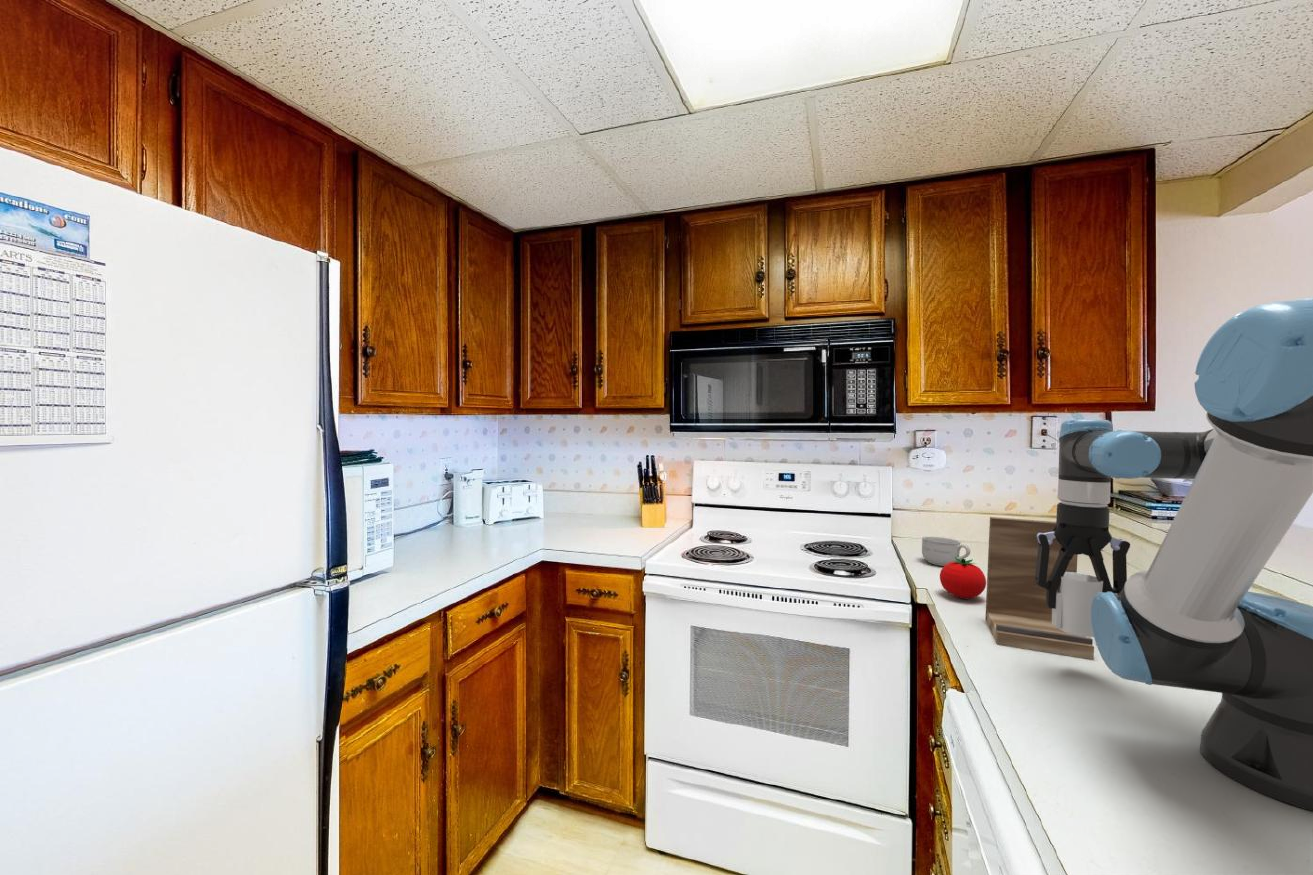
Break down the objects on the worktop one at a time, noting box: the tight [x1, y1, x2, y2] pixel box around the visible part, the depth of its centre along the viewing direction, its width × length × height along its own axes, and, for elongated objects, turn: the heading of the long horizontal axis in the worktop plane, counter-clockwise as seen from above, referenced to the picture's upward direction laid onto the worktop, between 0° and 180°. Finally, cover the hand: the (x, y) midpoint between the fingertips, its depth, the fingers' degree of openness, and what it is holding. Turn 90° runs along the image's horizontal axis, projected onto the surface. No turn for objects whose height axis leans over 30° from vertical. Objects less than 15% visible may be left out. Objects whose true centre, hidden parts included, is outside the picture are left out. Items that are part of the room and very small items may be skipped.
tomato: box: [939, 557, 987, 599], centre depth 137 cm, size 10×10×10 cm
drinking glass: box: [1058, 572, 1103, 638], centre depth 98 cm, size 7×7×10 cm
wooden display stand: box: [984, 516, 1095, 660], centre depth 112 cm, size 14×16×24 cm
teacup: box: [921, 535, 971, 567], centre depth 166 cm, size 14×11×8 cm
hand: (1077, 628), depth 98 cm, fingers closed on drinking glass, 6 cm apart
